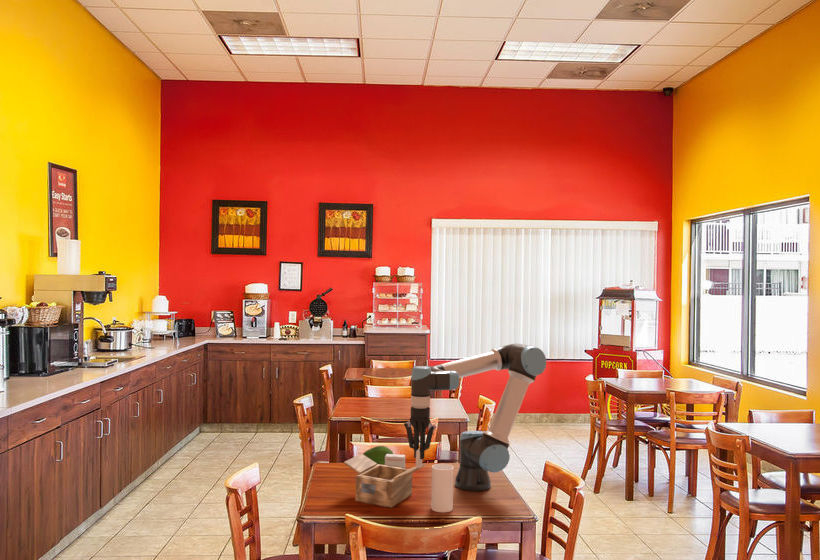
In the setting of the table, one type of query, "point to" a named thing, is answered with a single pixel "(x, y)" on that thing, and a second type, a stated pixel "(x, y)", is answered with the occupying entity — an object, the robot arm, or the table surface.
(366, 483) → the wooden box
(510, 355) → the robot arm
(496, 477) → the table surface
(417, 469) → the flap
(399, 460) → the ink box
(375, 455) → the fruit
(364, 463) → the flap
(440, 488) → the cup
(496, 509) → the table surface
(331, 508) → the table surface
